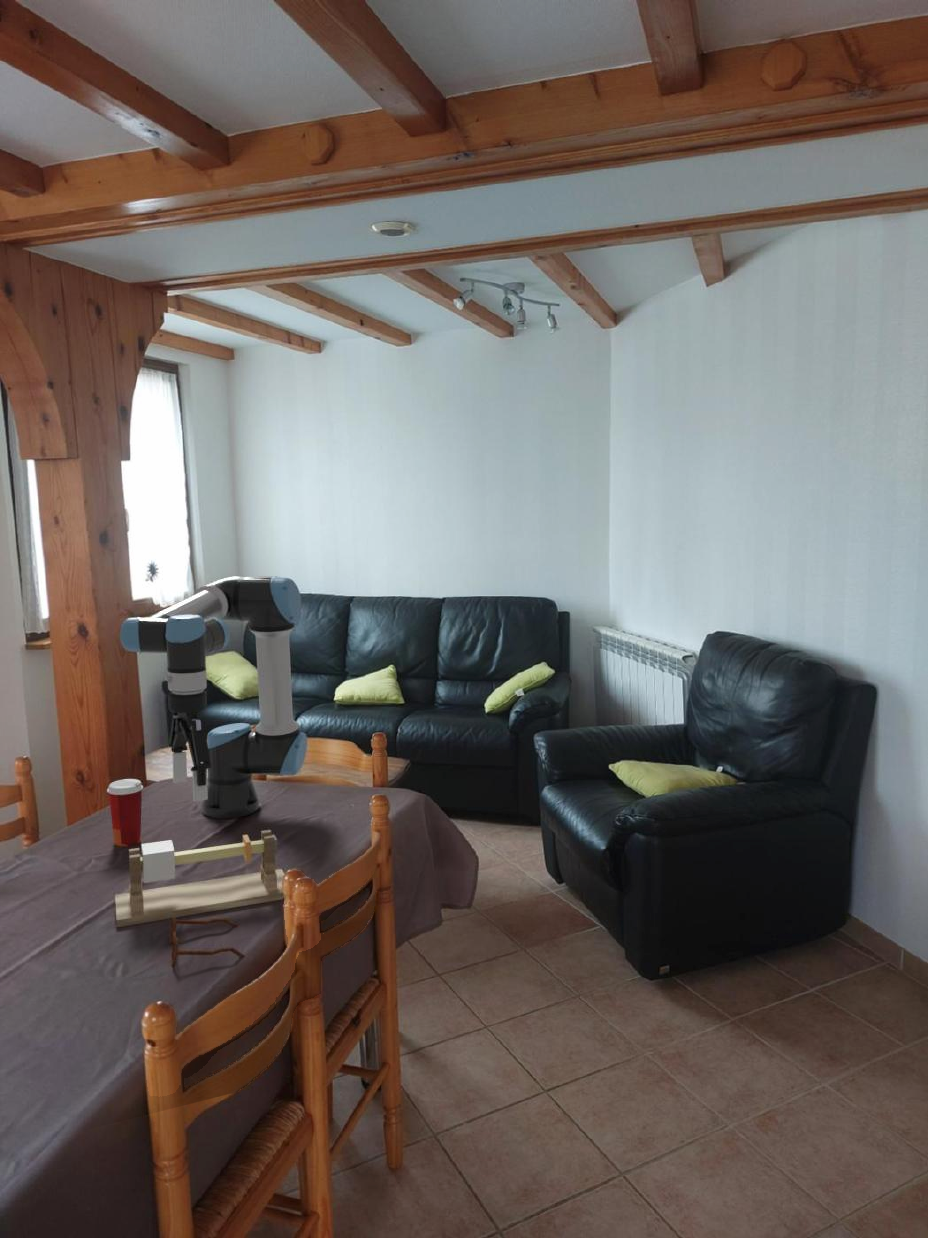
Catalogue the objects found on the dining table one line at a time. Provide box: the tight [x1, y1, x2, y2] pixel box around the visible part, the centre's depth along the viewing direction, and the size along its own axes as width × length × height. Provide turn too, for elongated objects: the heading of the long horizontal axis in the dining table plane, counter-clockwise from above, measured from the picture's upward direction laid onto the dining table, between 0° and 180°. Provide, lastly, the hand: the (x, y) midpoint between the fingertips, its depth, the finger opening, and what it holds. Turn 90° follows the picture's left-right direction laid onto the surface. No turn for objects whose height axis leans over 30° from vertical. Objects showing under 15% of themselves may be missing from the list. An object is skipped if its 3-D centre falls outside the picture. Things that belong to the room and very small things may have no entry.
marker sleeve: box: [141, 839, 176, 884], centre depth 178 cm, size 6×6×6 cm
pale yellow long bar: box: [140, 834, 278, 871], centre depth 181 cm, size 4×29×4 cm, turn 113°
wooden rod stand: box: [114, 829, 285, 928], centre depth 182 cm, size 12×35×12 cm, turn 113°
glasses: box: [169, 917, 246, 967], centre depth 163 cm, size 13×13×5 cm
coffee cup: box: [106, 778, 144, 848], centre depth 212 cm, size 8×8×15 cm
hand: (190, 791), depth 179 cm, fingers open, 13 cm apart
